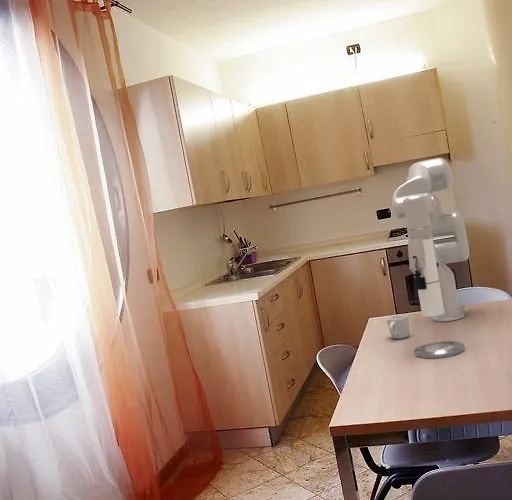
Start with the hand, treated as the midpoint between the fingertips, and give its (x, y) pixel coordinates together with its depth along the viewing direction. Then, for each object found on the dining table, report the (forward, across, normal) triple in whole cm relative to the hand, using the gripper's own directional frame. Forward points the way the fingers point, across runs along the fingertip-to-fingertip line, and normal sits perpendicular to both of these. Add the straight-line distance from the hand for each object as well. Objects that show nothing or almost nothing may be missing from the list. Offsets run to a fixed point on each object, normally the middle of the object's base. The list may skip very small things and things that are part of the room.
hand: (428, 286), depth 203 cm
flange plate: (+22, 0, 0) cm, 22 cm away
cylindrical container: (+9, 0, 0) cm, 9 cm away
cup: (+22, -13, -25) cm, 36 cm away
